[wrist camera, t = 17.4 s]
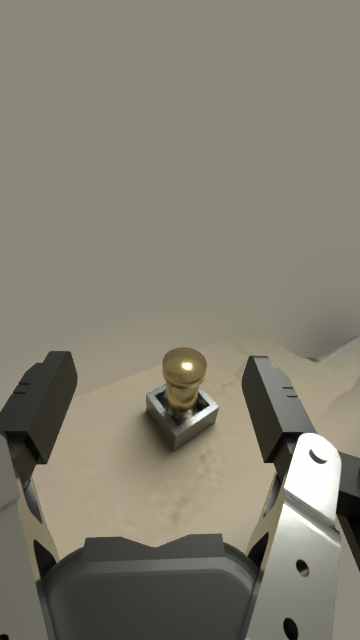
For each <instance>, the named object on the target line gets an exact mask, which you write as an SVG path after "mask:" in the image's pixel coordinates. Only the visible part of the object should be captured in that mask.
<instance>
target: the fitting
mask: <svg viewBox="0 0 360 640" xmlns="http://www.w3.org/2000/svg"><path fill="white" fill-rule="evenodd" d="M206 366H207V364H206V360H205V358H204V356H203V355H202V354H201V353H199V352H198V351H196V350H194V349H191V348H176V349H173V350H171V351H169V352H168V353H167V354H166V355H165V357H164V359H163V377H164V379H165V381H166V382H167V384H166V412H167V413H168V415H169V416H170V417H171V419H172V420H173V421H174V423H175V424H176V425H177V427H178V426H180V425H181V424H183V423H184V422H186V421H187V420H189V419H190V418H192V417H193V416H195V410H196V404H197V397H198V390H199V385H200V384H201V383H202V382H203V380H204V378H205V372H206Z"/></svg>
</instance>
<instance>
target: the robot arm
mask: <svg viewBox="0 0 360 640" xmlns="http://www.w3.org/2000/svg"><path fill="white" fill-rule="evenodd" d="M76 386H77V372H76V369H75V366H74V362H73V358H72V355H71V353H70V352H69V351H50V352H49V353H48V355H47V356H46V358H45V360H44V362H43V363H36V364H35V365H33V366H32V367H31V368H30V369H29V370H28V371H26V372H25V374H24V376H23V377H22V379H21V380H20V382H19V385H17V387H16V388H15V390H14V391H13V394H12V395H11V396H10V398H9V399H8V401H7V403H6V404H5V406H4V407H3V409H2V411H1V412H0V640H331V638H332V629H333V620H334V610H335V600H336V590H337V581H338V571H339V561H340V552H341V537H340V533H339V531H337V530H336V529H335V524H334V523H335V514H337V517H338V519H339V522H340V524H341V526H342V529H343V532H344V534H345V536H346V539H347V542H348V544H349V546H350V548H351V551H352V554H353V556H354V559H355V561H356V564H357V566H358V569H359V571H360V458H358V457H354V456H351V455H348V454H345V453H342V452H339V451H337V450H336V449H335V447H334V446H333V445H332V444H331V443H330V442H329V441H328V440H326V439H325V438H323V437H321V436H319V435H318V434H317V432H316V430H315V429H314V427H313V425H312V423H311V421H310V419H309V417H308V415H307V413H306V411H305V409H304V407H303V405H302V403H301V401H300V399H299V398H298V395H297V393H296V391H295V390H294V389H293V386H292V384H291V382H290V380H289V378H288V376H287V375H286V374H285V373H284V372H283V371H282V370H281V369H280V368H273V365H272V363H271V361H270V359H269V358H268V357H267V356H250V357H249V359H248V362H247V365H246V368H245V371H244V374H243V377H242V390H243V394H244V397H245V400H246V404H247V407H248V410H249V414H250V417H251V420H252V424H253V427H254V430H255V434H256V437H257V441H258V444H259V447H260V451H261V454H262V457H263V461H264V463H274V465H275V468H276V472H275V474H274V477H273V480H272V483H271V486H270V489H269V492H268V495H267V498H266V501H265V504H264V507H263V510H262V513H261V516H260V518H259V521H258V523H257V525H256V527H255V529H254V531H253V533H252V536H251V539H250V541H249V544H248V547H247V549H246V552H245V554H244V553H242V552H241V551H240V550H238V549H237V548H235V547H233V546H231V545H229V544H227V543H224V542H223V538H222V534H191V535H187V536H185V537H182V538H179V539H177V540H174V541H172V542H169V543H167V544H164V545H162V546H159V547H150V546H147V545H144V544H141V543H138V542H135V541H132V540H129V539H126V538H123V537H95V538H86V539H85V544H84V547H82V548H79V549H77V550H76V551H74V552H72V553H70V554H69V555H67V556H66V557H64V558H63V559H61V560H60V559H59V556H58V553H57V549H56V546H55V544H54V541H53V539H52V536H51V534H50V532H49V530H48V528H47V525H46V522H45V519H44V515H43V512H42V509H41V505H40V502H39V498H38V495H37V492H36V488H35V485H34V482H33V478H32V476H31V475H32V473H33V470H34V468H35V466H36V464H47V462H48V460H49V457H50V454H51V452H52V449H53V447H54V444H55V441H56V439H57V436H58V434H59V431H60V428H61V426H62V423H63V420H64V418H65V415H66V413H67V410H68V407H69V405H70V402H71V400H72V397H73V394H74V392H75V389H76Z"/></svg>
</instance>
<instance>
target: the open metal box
mask: <svg viewBox="0 0 360 640" xmlns="http://www.w3.org/2000/svg"><path fill="white" fill-rule="evenodd" d="M166 384H167V383H166ZM166 384H164V385H162V386H161V387H159V388H157V389H155V390H153V391H151V392H149V393H147V394H146V404H147V411H148V413H149V414H150V416H151V417H152V419H153V420H154V421H155V423H156V424H157V426H158V427H159V429H160V430H161V432H162V433H163V435H164V436H165V438H166V439H167V441H168V442H169V444H170V445H171V447H172V448H173V450H174V451H175V450H177V449H178V448H179V447H181V446H182V445H184V444H185V443H186V442H188V441H189V440H191V439H192V438H193V437H195V436H196V435H198V434H199V433H200V432H202V431H203V430H205V429H206V428H207V427H209V426H210V425H212V424H213V423H214V422H215V420H216V417H217V413H218V409H219V406H218V405H217V404H216V403H215V402H214V401H213V400H212V399H211V398H210V396H209V395H208V394H207V393H206V392H205V391H204V390H203V389H202V388H201V387H200V386H199V390H198V397H197V404H196V410H195V416H193V417H192V418H190V419H189V420H187V421H186V422H184V423H183V424H181V425H180V426H178V427H177V425H176V424H175V423H174V421H173V420H172V419H171V417H170V416H169V415H168V413H167V412H166Z"/></svg>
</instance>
